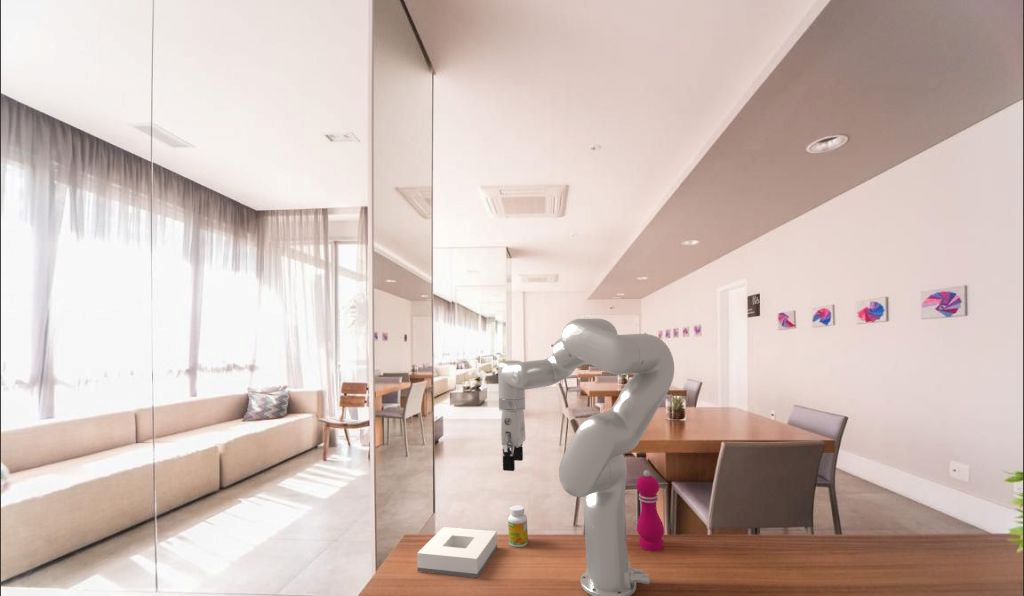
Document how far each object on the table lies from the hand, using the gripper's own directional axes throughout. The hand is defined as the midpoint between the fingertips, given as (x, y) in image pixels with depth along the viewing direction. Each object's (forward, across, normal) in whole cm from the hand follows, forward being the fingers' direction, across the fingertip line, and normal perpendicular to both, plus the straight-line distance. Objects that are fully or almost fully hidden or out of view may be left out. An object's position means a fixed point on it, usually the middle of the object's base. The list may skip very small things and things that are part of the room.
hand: (513, 465), depth 130 cm
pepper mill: (+21, +5, -37) cm, 43 cm away
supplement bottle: (+22, 0, -1) cm, 22 cm away
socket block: (+22, -11, +12) cm, 27 cm away
